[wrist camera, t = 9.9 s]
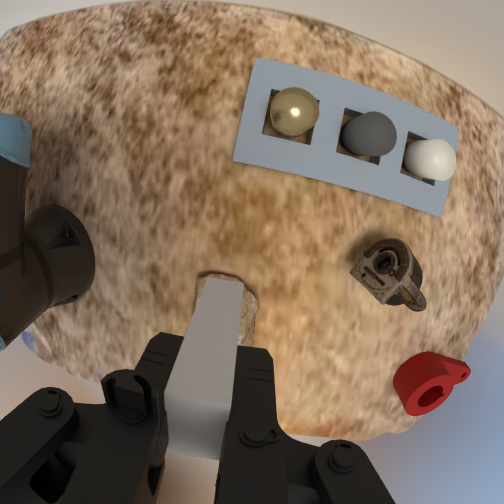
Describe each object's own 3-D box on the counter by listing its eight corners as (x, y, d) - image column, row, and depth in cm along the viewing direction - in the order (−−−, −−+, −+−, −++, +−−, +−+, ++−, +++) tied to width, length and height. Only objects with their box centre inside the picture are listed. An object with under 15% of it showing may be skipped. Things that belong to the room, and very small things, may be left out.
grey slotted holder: (235, 160, 32) (232, 160, 29) (256, 65, 28) (255, 57, 25) (429, 213, 32) (441, 218, 30) (446, 129, 29) (459, 128, 26)
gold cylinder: (265, 132, 29) (266, 126, 24) (274, 94, 27) (276, 82, 22) (306, 141, 29) (314, 137, 24) (314, 103, 27) (323, 94, 23)
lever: (384, 392, 42) (396, 418, 36) (405, 351, 39) (421, 376, 33) (454, 385, 42) (467, 406, 36) (474, 349, 40) (491, 368, 33)
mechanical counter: (363, 217, 33) (398, 239, 24) (432, 258, 34) (472, 287, 25) (336, 267, 35) (360, 304, 26) (407, 302, 36) (439, 339, 27)
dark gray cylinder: (338, 149, 29) (351, 148, 24) (345, 112, 27) (359, 105, 23) (373, 161, 29) (392, 161, 24) (381, 125, 28) (400, 120, 23)
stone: (196, 333, 40) (185, 352, 36) (199, 268, 36) (186, 283, 32) (253, 346, 39) (248, 367, 35) (264, 280, 35) (259, 298, 31)
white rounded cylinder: (400, 170, 29) (421, 173, 24) (407, 135, 28) (429, 133, 23) (429, 181, 29) (451, 186, 24) (435, 148, 28) (459, 148, 23)
